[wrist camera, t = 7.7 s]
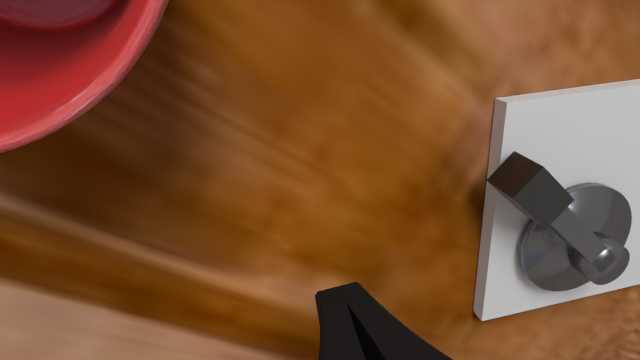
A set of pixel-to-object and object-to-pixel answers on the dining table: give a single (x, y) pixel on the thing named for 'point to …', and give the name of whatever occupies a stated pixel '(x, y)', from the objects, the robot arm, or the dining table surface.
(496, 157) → the stand plate
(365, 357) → the robot arm
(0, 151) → the flower pot
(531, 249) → the crank handle
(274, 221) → the dining table surface
